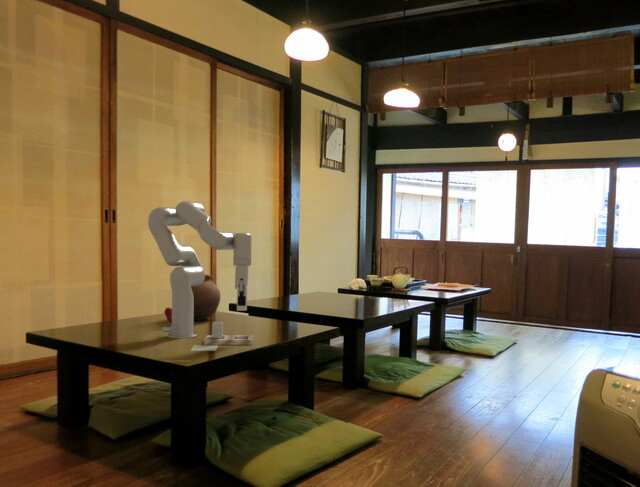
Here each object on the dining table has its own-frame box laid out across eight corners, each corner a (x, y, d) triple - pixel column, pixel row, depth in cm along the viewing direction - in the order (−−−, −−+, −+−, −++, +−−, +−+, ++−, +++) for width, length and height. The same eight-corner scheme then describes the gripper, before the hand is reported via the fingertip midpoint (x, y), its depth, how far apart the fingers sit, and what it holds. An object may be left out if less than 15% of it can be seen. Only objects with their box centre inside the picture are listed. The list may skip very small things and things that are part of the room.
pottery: (167, 319, 287) (167, 272, 287) (201, 314, 306) (201, 270, 305) (195, 325, 274) (196, 275, 273) (229, 319, 292) (229, 273, 291)
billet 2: (236, 310, 229) (237, 289, 228) (237, 309, 233) (237, 288, 232) (246, 310, 229) (246, 289, 229) (246, 309, 233) (247, 288, 233)
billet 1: (212, 344, 228) (212, 323, 228) (213, 342, 232) (213, 321, 232) (221, 344, 229) (222, 323, 228) (222, 342, 233) (222, 321, 232)
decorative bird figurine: (161, 328, 263) (161, 307, 263) (191, 323, 277) (192, 304, 276) (164, 328, 261) (165, 308, 261) (195, 324, 275) (195, 304, 275)
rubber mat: (190, 352, 214) (190, 350, 214) (193, 346, 224) (193, 345, 224) (216, 352, 214) (216, 350, 214) (218, 346, 224) (218, 345, 224)
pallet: (204, 346, 225) (204, 340, 225) (206, 341, 235) (207, 335, 235) (252, 346, 227) (252, 340, 227) (253, 341, 237) (253, 335, 237)
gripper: (234, 260, 238) (234, 302, 239) (232, 263, 222) (231, 307, 222) (251, 261, 239) (251, 302, 239) (250, 263, 222) (250, 307, 223)
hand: (241, 304), depth 231 cm, fingers closed on billet 2, 4 cm apart
